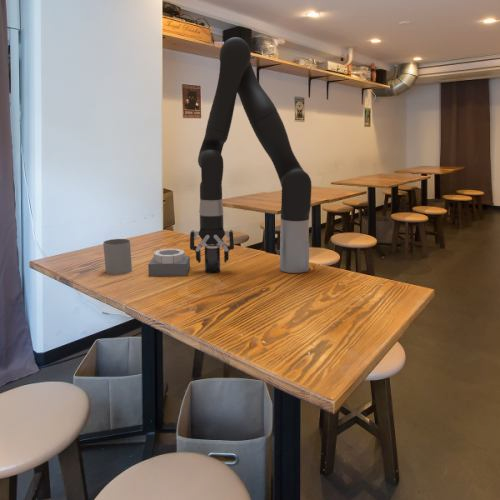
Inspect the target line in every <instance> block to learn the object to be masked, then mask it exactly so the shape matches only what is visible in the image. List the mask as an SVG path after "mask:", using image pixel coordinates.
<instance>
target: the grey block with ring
mask: <svg viewBox="0 0 500 500" xmlns="http://www.w3.org/2000/svg"><path fill="white" fill-rule="evenodd" d="M185 254H186V251H185V250H183V249H179V248H164V249H159V250H155V251H154V253H153V257H151V260H150V261H149V262H148V264H147V265H148V267H147V268H148V277H187V276H188V274H189V270H190V268H191V261H190V260H191V259H190V258H191V257H190V255H185Z"/></svg>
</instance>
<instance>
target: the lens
mask: <svg viewBox="0 0 500 500" xmlns="http://www.w3.org/2000/svg"><path fill="white" fill-rule="evenodd" d="M203 248H204V272H205V273H207V274H219V273H220V272H221V246H220V244H219V243H218V244H217V245H214V244H210V245H207V244H204V245H203Z"/></svg>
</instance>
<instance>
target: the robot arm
mask: <svg viewBox="0 0 500 500" xmlns="http://www.w3.org/2000/svg"><path fill="white" fill-rule="evenodd" d="M251 57H252V52H251V48H250V46H249V44H248V43H247V42H246V40H245V39H243V38H242V37H238V36H236V37H235V36H234V37H231V38H228V39H227V40H225V41H224V42H223V44H222V46H220V50H219V74H218V80H217V85H216V90H215V94H214V97H213V101H212V104H211V107H210V112H209V115H208V119H207V124H206V127H205V132H204V133H205V134H204V138H203V140H202V143H201V146H200V148H199V152H198V157H197V163H198V166H199V167H200V171H201V173H200V174H201V175H200V177H201V178H200V179H201V180H200V181H201V182H200V184H199V209H198V213H199V231H195V230H191V231H190V233H189V235H190V236H189V249H190V251H195V260H196V262H198V263H201V262H202V260H201V259H202V255H201V253H202V252H201V249H202V247H204V245H205V244H207V245H210V244H214V245H217V244H220V248H221V247H222V249H223V250H224V251H223V260H224V263H227V262H228V261H229V254H230V253H229V252H230V251H232V250H234V249H235V243H234V241H235V240H234V231H233V230H232V229H231V230H229V231H228V230H225V229H224V203H223V186H222V184H223V183H222V182H223V176H224V158H223V155H222V153H223V150H224V149H223V148H224V145H225V143H226V142H227V140H228V137H229V133H230V130H231V125H232V121H233V115H234V111H235V105H236V98H237V95H238V97H239V99H240V102H241V105H242V107H243V111H244V112H245V114H246V117H247V119H248V122H249V124H250V127H251V128H252V130H253V133H254V134H255V136H256V138H257V140H258V141H259V144H260V145H261V146H262V147H263V149H264V152H265V153H266V154H267V156H268V157H269V159H270V160H271V162H272V165H273V166H274V168H275V169H274V170H275V172H276V174H277V176H278V179H279V182H280V186H281V204H280V205H281V207H280V239H279V240H280V241H279V243H280V245H279V271H281V272H284V273H289V274H301V273H306V272H309V270H310V268H309V267H310V242H309V234H310V233H309V230H310V212H311V207H312V206H311V203H312V179H311V176H309V174H308V173H307V172H306V171H305V170H304V169H303V167H302V166H301V164H300V162H299V161H298V159H297V157H296V156H295V153H294V151H293V149H292V147H291V146H292V145H291V143H290V139H289V135H288V133H287V130H286V126H285V125H284V122H283V120H282V118H281V116H280V114H279V111H278V109H277V108H276V105H275V104H274V102H273V101H272V99H271V98H270V96H269V95H268V94H267V93H266V91H265V89H263V86H261V84H260V82H259V81H258V79H257V76H256V74H255V71H254V68H253V66H252V62H251ZM197 236H199V237H200V239H201V240H200V242H199V243H198V245H195V241H196V240H195V239H197ZM225 236H226V238H228V239H229V245H227V243H226V242H225V240H224V237H225Z"/></svg>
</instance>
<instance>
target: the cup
mask: <svg viewBox="0 0 500 500" xmlns="http://www.w3.org/2000/svg"><path fill="white" fill-rule="evenodd" d="M102 244H103V253H104V254H103V255H104V266H105V273H106V274H107V275H112V276H119V275H125V274H129V273H131V272H133V264H132V253H131V250H132V249H131V240H130V239H127V238H113V239H108V240H104V241H103V243H102Z"/></svg>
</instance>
